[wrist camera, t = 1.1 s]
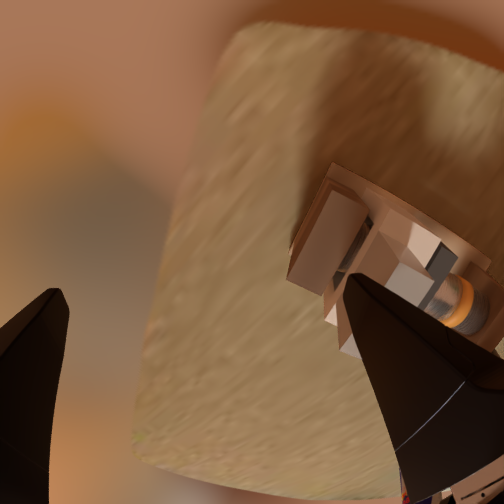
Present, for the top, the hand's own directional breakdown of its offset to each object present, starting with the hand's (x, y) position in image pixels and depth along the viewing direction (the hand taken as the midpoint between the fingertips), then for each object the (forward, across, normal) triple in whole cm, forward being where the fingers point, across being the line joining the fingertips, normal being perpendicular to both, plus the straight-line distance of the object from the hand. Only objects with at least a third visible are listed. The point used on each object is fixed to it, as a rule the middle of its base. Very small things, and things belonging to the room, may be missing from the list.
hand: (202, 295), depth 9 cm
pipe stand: (+9, -14, +5) cm, 17 cm away
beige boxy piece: (+8, -10, +3) cm, 13 cm away
